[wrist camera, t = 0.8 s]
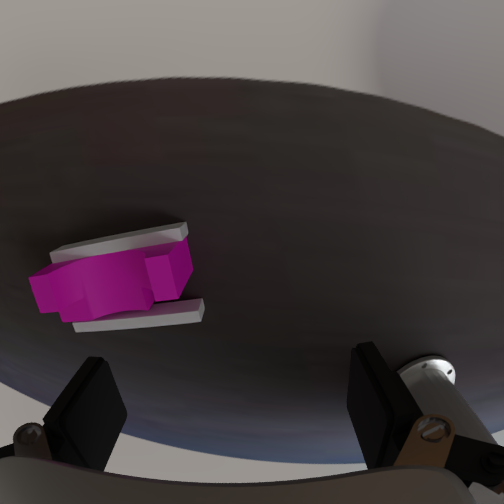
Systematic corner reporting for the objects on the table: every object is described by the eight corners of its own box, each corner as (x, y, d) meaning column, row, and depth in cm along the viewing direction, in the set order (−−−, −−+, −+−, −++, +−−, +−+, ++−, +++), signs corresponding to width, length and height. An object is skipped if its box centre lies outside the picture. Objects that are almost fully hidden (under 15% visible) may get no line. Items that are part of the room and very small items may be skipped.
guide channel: (204, 308, 33) (201, 321, 30) (86, 320, 34) (75, 332, 31) (186, 221, 31) (179, 227, 28) (63, 245, 31) (49, 252, 28)
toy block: (80, 305, 34) (49, 335, 26) (65, 255, 32) (28, 277, 25) (198, 291, 33) (185, 325, 26) (186, 233, 31) (167, 254, 24)
